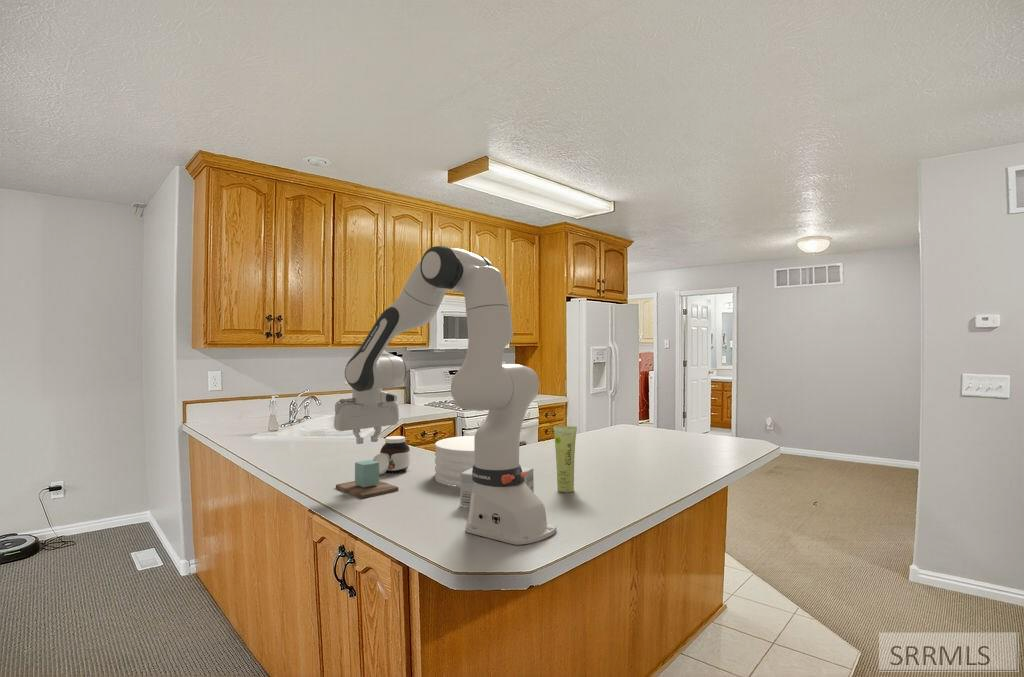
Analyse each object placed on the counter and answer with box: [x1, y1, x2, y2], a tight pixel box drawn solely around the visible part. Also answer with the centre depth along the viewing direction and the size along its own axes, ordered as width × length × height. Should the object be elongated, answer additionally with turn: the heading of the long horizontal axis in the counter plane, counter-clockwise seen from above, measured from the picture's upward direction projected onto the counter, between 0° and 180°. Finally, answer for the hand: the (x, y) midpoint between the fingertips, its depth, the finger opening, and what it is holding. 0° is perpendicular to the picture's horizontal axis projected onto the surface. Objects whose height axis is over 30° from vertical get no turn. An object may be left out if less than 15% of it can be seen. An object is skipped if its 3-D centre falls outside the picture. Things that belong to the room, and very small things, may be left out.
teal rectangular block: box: [354, 459, 380, 488], centre depth 158 cm, size 5×5×7 cm
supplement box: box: [459, 466, 535, 508], centre depth 145 cm, size 17×13×9 cm
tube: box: [552, 425, 578, 493], centre depth 158 cm, size 6×5×20 cm
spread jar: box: [372, 435, 411, 476], centre depth 180 cm, size 12×11×12 cm
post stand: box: [335, 480, 399, 499], centre depth 158 cm, size 16×12×8 cm
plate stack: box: [434, 435, 475, 487], centre depth 175 cm, size 28×28×12 cm
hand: (367, 442), depth 159 cm, fingers open, 3 cm apart
